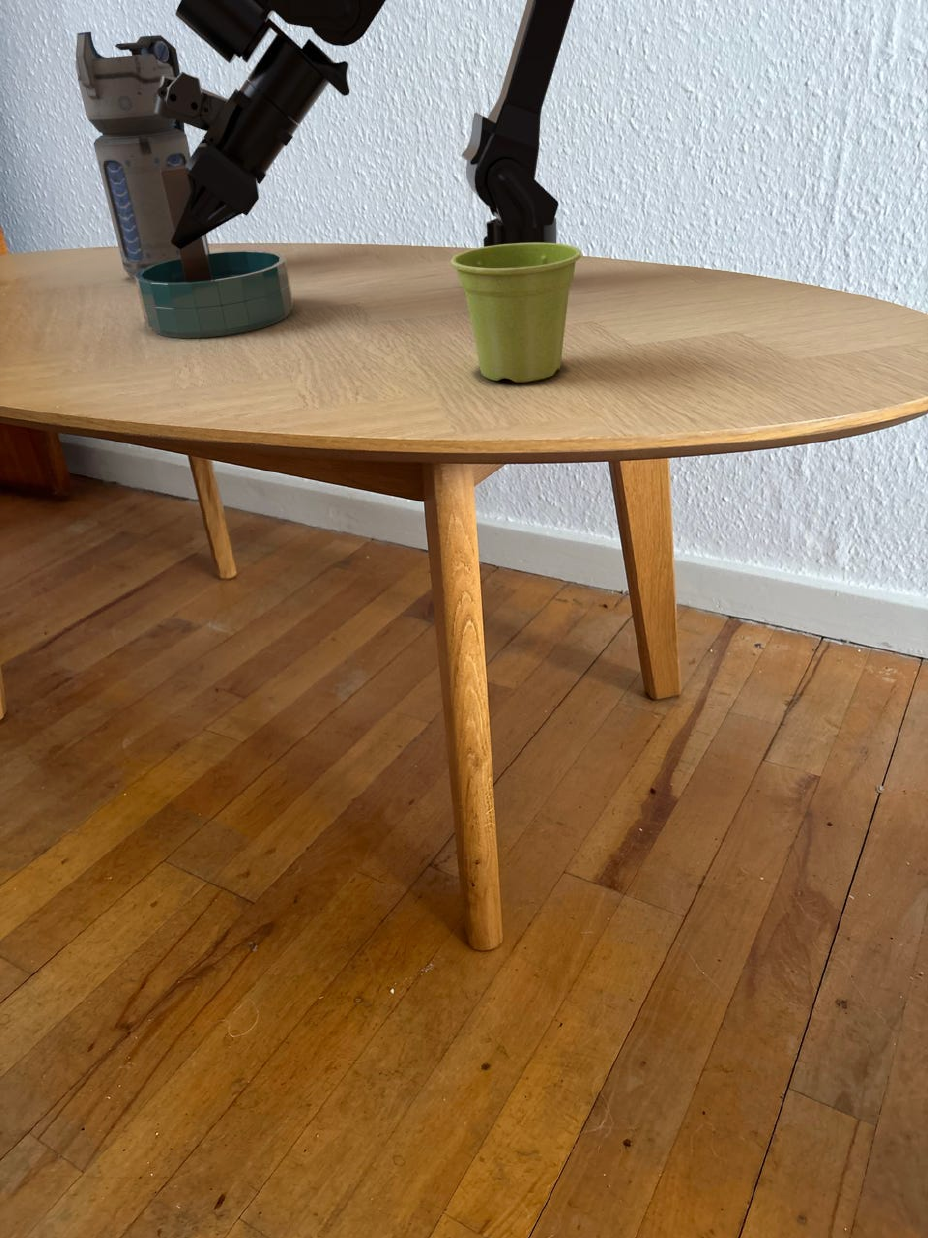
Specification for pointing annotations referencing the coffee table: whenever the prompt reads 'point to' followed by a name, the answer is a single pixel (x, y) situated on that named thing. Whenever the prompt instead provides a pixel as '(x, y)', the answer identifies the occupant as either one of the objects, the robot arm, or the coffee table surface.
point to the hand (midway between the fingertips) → (176, 242)
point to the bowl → (216, 295)
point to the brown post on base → (177, 197)
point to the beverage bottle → (134, 143)
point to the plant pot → (518, 306)
